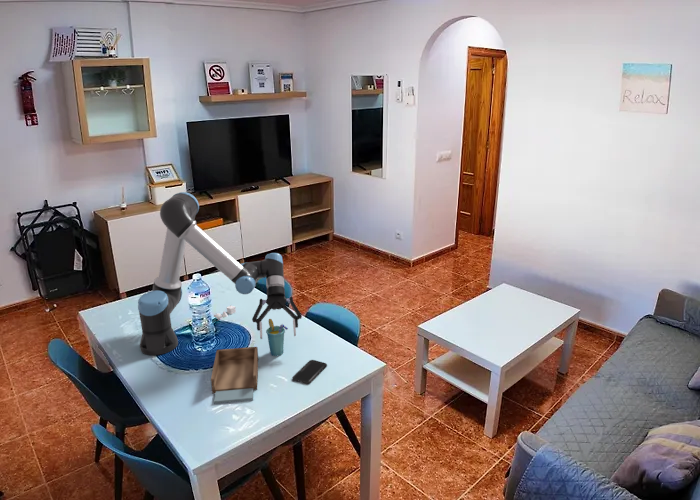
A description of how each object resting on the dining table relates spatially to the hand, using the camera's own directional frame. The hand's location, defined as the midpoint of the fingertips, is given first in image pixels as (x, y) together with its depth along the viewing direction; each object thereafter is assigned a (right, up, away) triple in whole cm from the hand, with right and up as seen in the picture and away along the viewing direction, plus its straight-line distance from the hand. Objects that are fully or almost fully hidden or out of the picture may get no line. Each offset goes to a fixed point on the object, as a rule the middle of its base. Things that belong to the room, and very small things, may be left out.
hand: (278, 336), depth 207 cm
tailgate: (-13, -17, -22) cm, 30 cm away
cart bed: (-14, -13, -12) cm, 23 cm away
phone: (+14, -13, -9) cm, 21 cm away
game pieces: (-31, +3, +37) cm, 49 cm away
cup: (-1, -8, +4) cm, 9 cm away
